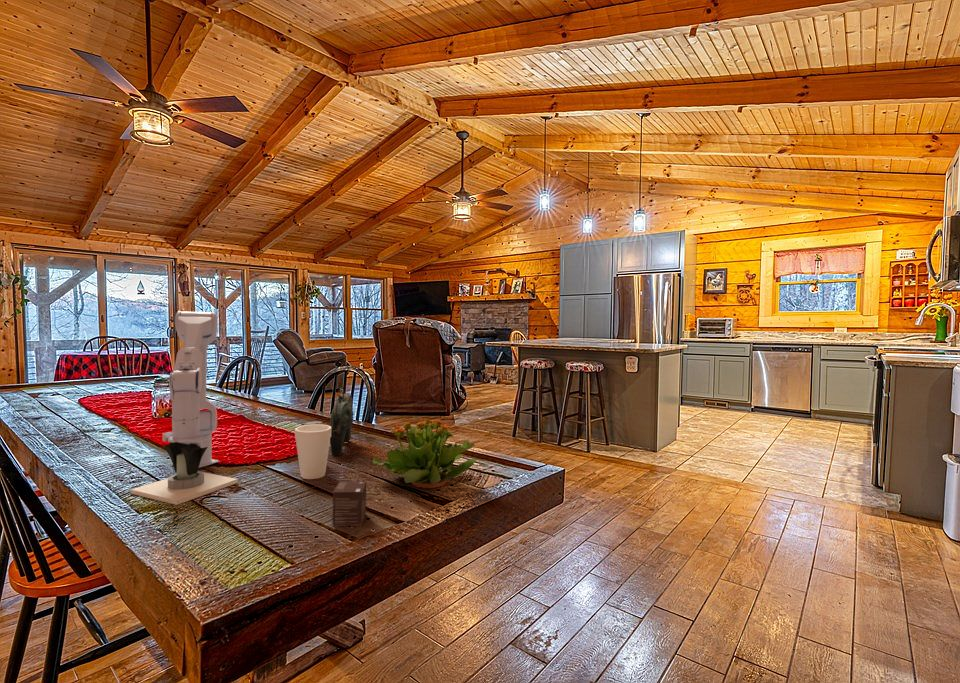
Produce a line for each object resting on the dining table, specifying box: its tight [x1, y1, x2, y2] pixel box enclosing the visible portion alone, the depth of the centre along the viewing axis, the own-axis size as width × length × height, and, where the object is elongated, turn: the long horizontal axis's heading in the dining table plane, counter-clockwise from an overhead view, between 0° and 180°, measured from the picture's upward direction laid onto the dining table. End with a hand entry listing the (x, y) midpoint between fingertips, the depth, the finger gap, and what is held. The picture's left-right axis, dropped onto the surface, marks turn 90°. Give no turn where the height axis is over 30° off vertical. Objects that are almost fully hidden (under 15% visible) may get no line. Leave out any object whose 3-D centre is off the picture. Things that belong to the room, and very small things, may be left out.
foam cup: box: [294, 423, 331, 480], centre depth 127 cm, size 10×9×13 cm
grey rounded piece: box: [176, 453, 196, 480], centre depth 115 cm, size 4×4×6 cm
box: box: [332, 481, 367, 527], centre depth 99 cm, size 6×6×7 cm
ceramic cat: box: [329, 387, 354, 456], centre depth 155 cm, size 20×6×20 cm, turn 6°
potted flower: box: [372, 418, 477, 489], centre depth 123 cm, size 25×24×18 cm
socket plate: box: [130, 470, 238, 506], centre depth 115 cm, size 16×16×3 cm
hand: (186, 472), depth 115 cm, fingers closed on grey rounded piece, 4 cm apart
